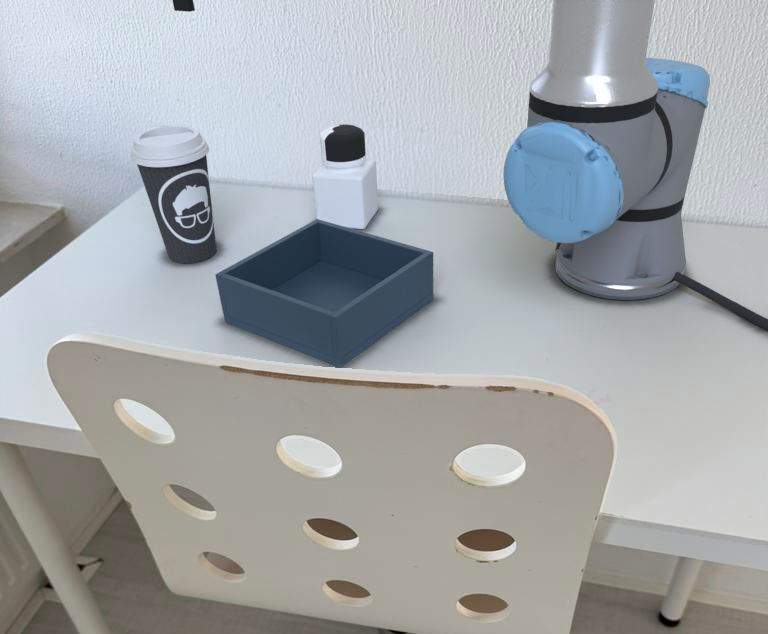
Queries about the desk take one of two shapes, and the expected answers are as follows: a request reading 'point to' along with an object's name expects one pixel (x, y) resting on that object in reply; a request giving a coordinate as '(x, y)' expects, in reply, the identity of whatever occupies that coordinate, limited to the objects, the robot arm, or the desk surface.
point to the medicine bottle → (345, 179)
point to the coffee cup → (178, 189)
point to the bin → (327, 290)
